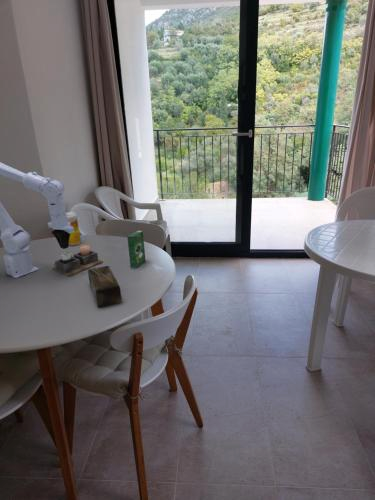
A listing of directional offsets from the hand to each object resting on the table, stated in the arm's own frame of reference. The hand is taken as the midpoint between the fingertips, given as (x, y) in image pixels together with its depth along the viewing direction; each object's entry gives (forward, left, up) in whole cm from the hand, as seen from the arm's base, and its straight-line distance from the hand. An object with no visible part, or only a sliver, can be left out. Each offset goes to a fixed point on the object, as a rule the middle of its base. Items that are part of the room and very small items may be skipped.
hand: (64, 247), depth 131 cm
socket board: (+4, 0, -9) cm, 10 cm away
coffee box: (+19, -19, -10) cm, 29 cm away
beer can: (+19, +25, -10) cm, 33 cm away
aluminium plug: (0, 0, -6) cm, 6 cm away
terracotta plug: (+8, 0, -6) cm, 10 cm away
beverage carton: (-4, -27, -10) cm, 29 cm away
